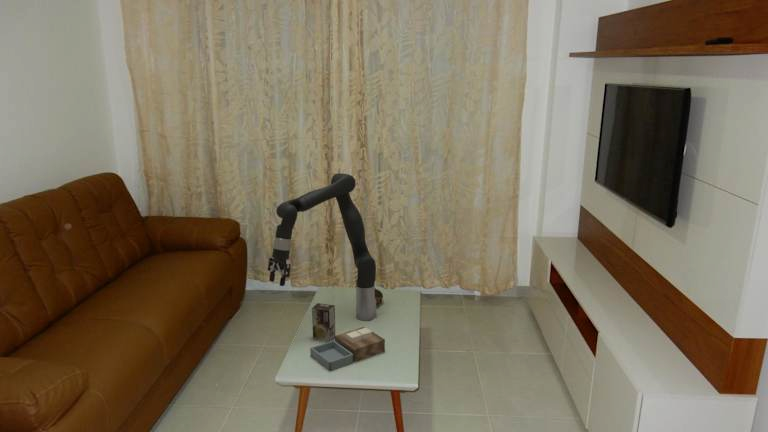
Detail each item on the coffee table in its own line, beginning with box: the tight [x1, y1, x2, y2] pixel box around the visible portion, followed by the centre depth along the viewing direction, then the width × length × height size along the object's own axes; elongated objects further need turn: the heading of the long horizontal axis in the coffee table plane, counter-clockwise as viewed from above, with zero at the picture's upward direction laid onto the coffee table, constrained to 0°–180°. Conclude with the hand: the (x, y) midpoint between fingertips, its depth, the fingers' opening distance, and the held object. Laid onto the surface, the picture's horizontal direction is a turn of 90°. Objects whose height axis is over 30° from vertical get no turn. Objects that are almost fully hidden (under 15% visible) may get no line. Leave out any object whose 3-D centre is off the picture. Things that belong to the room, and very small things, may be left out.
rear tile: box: [356, 327, 373, 340], centre depth 252 cm, size 5×5×2 cm
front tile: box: [346, 331, 362, 343], centre depth 249 cm, size 5×5×2 cm
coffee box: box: [311, 302, 336, 343], centre depth 261 cm, size 9×6×16 cm
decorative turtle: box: [374, 286, 384, 306], centre depth 303 cm, size 10×15×8 cm, turn 19°
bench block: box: [334, 326, 386, 363], centre depth 252 cm, size 16×16×6 cm
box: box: [309, 339, 355, 372], centre depth 244 cm, size 12×16×4 cm
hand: (276, 283), depth 253 cm, fingers open, 8 cm apart
